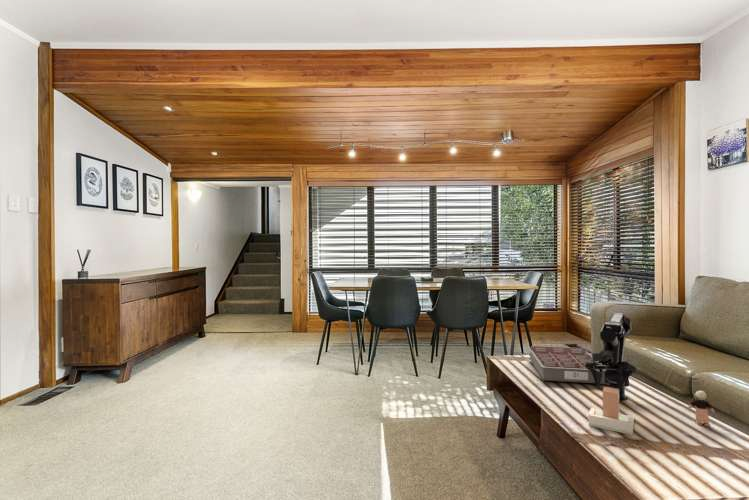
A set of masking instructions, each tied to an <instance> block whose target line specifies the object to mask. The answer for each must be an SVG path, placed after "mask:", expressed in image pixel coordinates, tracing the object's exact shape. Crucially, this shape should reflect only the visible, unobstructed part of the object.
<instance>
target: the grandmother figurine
mask: <svg viewBox="0 0 749 500" xmlns="http://www.w3.org/2000/svg"><path fill="white" fill-rule="evenodd" d="M694 396H695V397H696V398H697V399H695V400H692V401H691V402H690V403H689V405H688V406H687V407H688V409H692V408H693V407H695V424H696V425H698V426H705V427H710V426H711V423H710V417H709V411H710V413H712V414H715V412H716V411H715V410H714V408H713V406H712V405H711V404H710V403H709V401H707V400H706V399H707V393H706V392H705V391H704V390H697V391H696V392H695V393H694ZM708 409H709V410H708Z"/></svg>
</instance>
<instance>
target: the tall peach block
mask: <svg viewBox="0 0 749 500" xmlns="http://www.w3.org/2000/svg"><path fill="white" fill-rule="evenodd" d="M602 411H603V417H608V418H613V419H618V420H619V414H620V400H619V389H616V388H610V387H608V386H603V389H602Z"/></svg>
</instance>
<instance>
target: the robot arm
mask: <svg viewBox="0 0 749 500" xmlns="http://www.w3.org/2000/svg"><path fill="white" fill-rule="evenodd" d="M601 326H602V327H601V329H600V334H599V337H600V339H601V342H602V344H603V349H602V350H601V351H599V353H594V352H593V353H591V355H592V358H593V361H598V363H601V364H602V365H599V364H597V363H595V362H587V363H586V364H585V368H586V369H588V370H589V371H591V373H592V375H593V377H594V381H595V383H594V384H595V387H596V388H598V389H599V388H600V385H601V384H600V382H601V378H602V373H601V372H602V370H605V372H604V376H605V383H608V384H607V387H610V388H616V389H619V401H624V400H628V399H629V397H627V396H626V395H625V394H626V393H625V392H626V391H625V387H626V388H627V387H629V386H630V377H631V376H633V375H634V374H636V373H637V368H636V366H635V365H633V364H632V363H630V362H629V361H624V353H625V352H624V351H625V345H626V344H625V343H626V339H627V338H628V337H629V336H630V332H631V331H632V321H631V319H630V318H629V317H628V316H626V314H625V313H622V312H614V313H612V315H611V317H610V319H609V321H605V322H604V324H602V325H601Z"/></svg>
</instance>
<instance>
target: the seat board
mask: <svg viewBox="0 0 749 500" xmlns="http://www.w3.org/2000/svg"><path fill="white" fill-rule="evenodd" d="M634 422H635V417H634V415H633V414H628V415H627V414H622V413H619V420H618V419H613V418H608V417H603V409H602V410H601V409H596V407H590V409H589V412H588V426H590V427H594V428H600V429H604V430H608V431H612V432H613V431H614V432H616V433H617V432H618V433H623V434H626V435H631V436H633V434H634Z"/></svg>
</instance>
